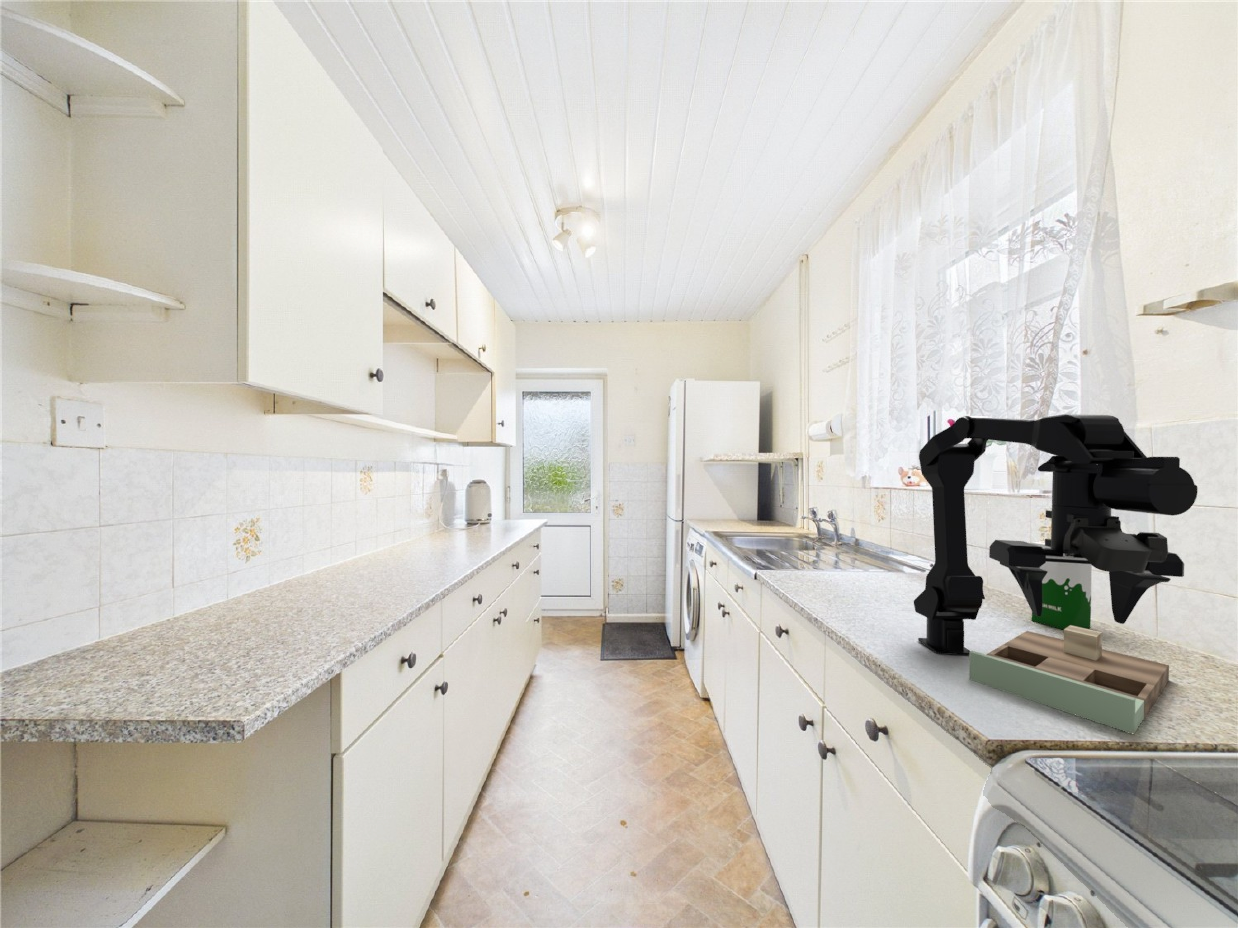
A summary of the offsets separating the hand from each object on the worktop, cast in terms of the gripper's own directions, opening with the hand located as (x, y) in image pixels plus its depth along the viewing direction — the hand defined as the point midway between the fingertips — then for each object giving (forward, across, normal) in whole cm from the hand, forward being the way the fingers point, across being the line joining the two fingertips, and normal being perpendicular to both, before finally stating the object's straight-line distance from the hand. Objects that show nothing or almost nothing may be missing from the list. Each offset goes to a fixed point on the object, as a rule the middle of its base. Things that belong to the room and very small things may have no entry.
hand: (1077, 619), depth 62 cm
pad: (+14, +1, +7) cm, 16 cm away
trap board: (+14, +10, +17) cm, 24 cm away
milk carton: (+15, +24, +46) cm, 54 cm away
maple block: (+12, +13, +21) cm, 27 cm away
